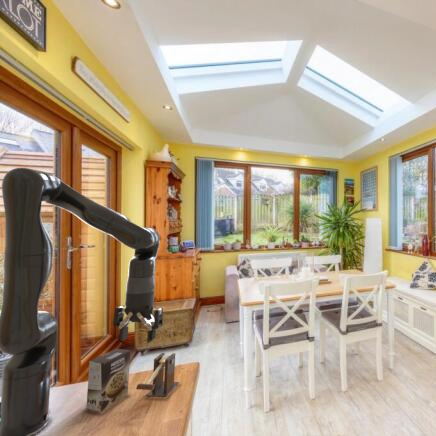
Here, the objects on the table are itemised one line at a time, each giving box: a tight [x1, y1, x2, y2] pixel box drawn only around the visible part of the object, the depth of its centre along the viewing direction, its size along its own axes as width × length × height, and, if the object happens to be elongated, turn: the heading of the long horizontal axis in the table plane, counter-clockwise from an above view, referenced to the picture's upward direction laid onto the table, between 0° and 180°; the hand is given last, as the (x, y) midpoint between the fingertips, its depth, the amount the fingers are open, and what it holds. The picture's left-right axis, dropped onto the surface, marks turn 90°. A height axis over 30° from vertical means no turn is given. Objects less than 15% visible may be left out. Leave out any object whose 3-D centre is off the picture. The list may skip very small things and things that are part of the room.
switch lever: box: [135, 354, 170, 391], centre depth 89 cm, size 12×5×2 cm, turn 179°
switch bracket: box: [145, 352, 180, 398], centre depth 94 cm, size 8×7×13 cm
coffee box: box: [86, 348, 131, 413], centre depth 87 cm, size 9×6×16 cm
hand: (137, 340), depth 83 cm, fingers open, 8 cm apart
